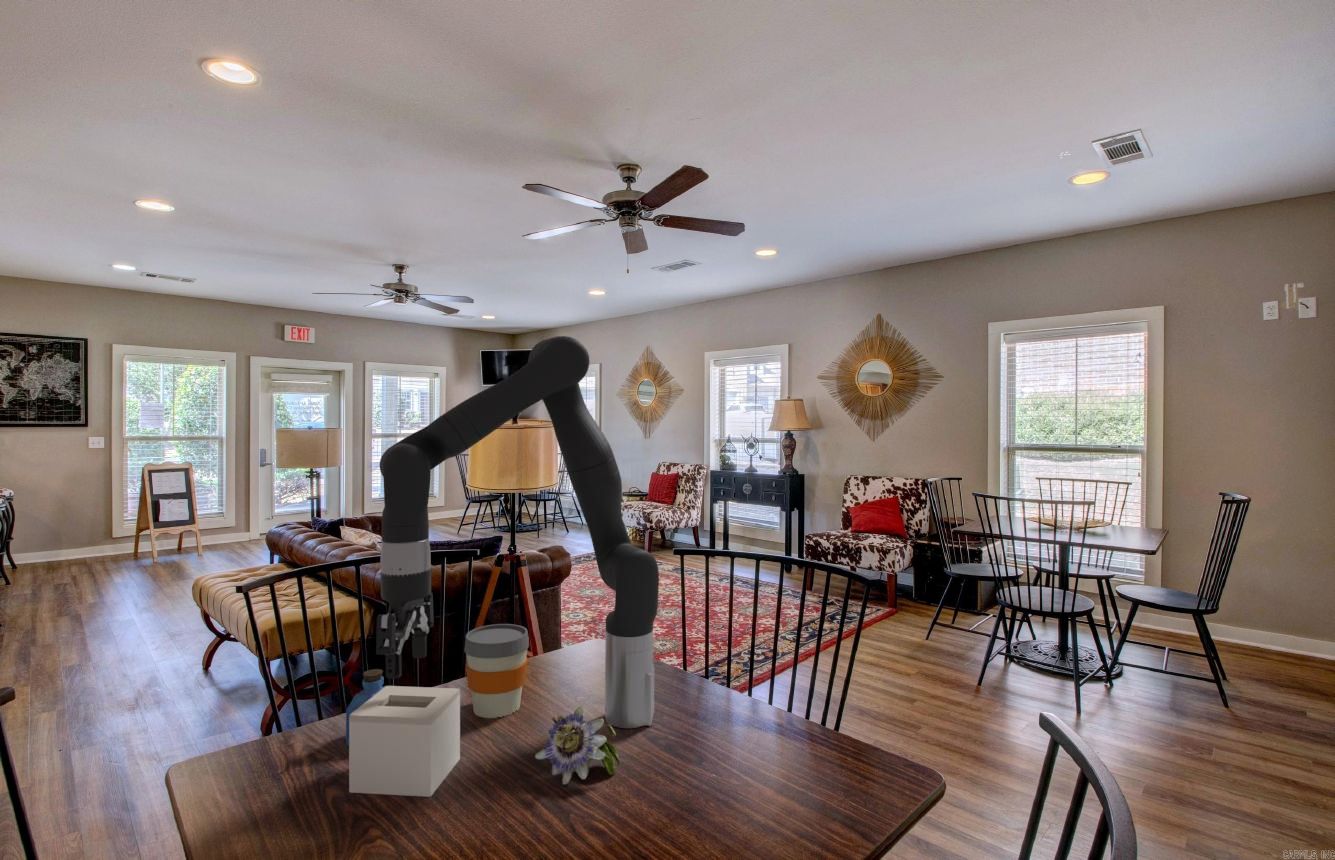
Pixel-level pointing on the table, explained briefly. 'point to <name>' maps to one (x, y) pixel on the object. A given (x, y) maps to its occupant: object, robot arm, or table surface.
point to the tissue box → (404, 741)
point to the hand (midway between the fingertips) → (407, 666)
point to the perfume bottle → (365, 693)
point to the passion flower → (577, 746)
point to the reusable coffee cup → (496, 668)
